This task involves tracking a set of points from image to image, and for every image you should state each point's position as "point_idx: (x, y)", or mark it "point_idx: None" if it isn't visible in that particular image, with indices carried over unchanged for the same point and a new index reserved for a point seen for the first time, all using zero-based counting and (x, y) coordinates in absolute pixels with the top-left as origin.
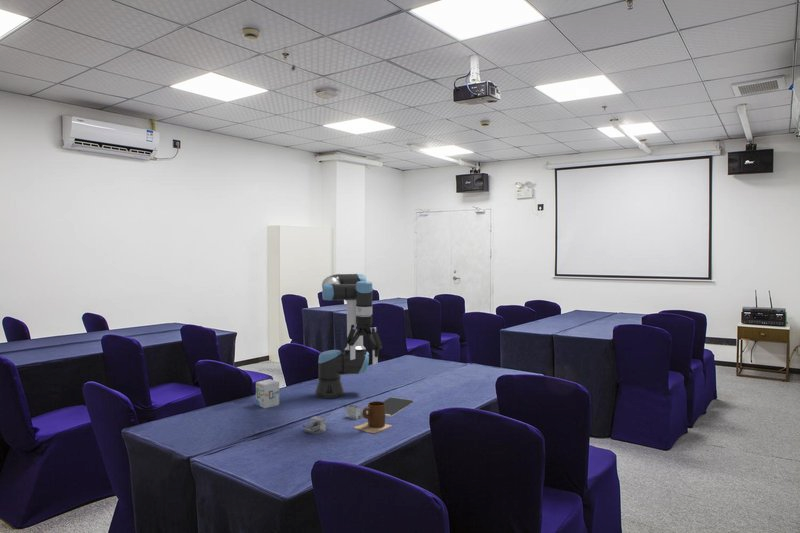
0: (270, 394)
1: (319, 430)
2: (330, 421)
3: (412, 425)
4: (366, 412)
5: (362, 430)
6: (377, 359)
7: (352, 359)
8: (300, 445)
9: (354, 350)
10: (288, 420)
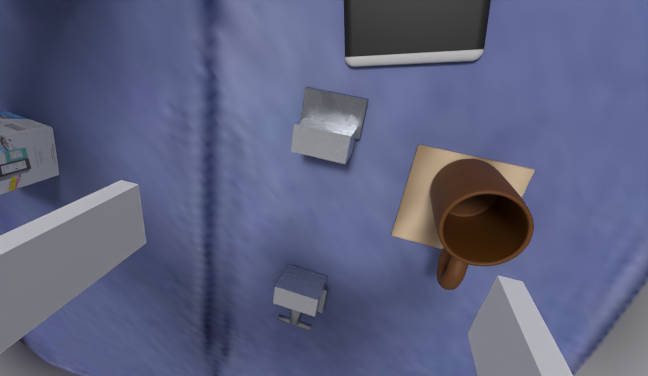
0: (13, 171)
1: (321, 298)
2: (288, 204)
3: (633, 117)
4: (352, 66)
5: (434, 246)
6: (545, 336)
7: (143, 229)
8: (335, 365)
9: (22, 265)
10: (187, 238)
